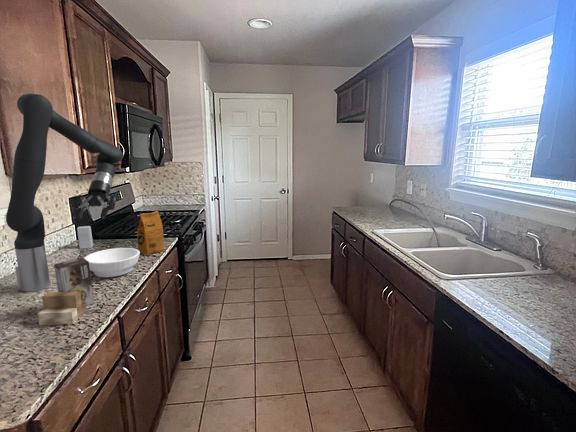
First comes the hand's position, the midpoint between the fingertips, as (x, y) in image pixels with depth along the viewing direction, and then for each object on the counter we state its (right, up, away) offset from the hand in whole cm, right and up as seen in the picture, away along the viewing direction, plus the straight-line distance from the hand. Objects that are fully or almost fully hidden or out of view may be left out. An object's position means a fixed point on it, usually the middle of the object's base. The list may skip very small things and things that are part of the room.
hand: (90, 217), depth 126 cm
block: (+2, -32, -17) cm, 37 cm away
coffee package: (+1, -19, +53) cm, 56 cm away
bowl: (-3, -25, +22) cm, 34 cm away
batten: (+3, -33, -21) cm, 40 cm away
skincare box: (-39, -17, +60) cm, 74 cm away
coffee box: (+1, -31, -10) cm, 33 cm away
